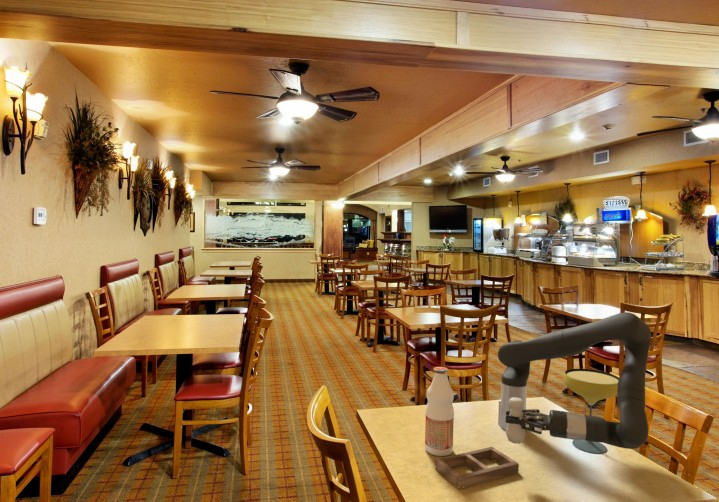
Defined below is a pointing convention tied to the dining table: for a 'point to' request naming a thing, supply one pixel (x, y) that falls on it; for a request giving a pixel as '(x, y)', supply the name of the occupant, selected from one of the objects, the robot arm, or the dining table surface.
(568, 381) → the cocktail glass
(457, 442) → the dining table surface
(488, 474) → the caddy
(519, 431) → the salt shaker
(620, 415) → the robot arm
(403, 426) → the dining table surface
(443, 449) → the fruit juice
